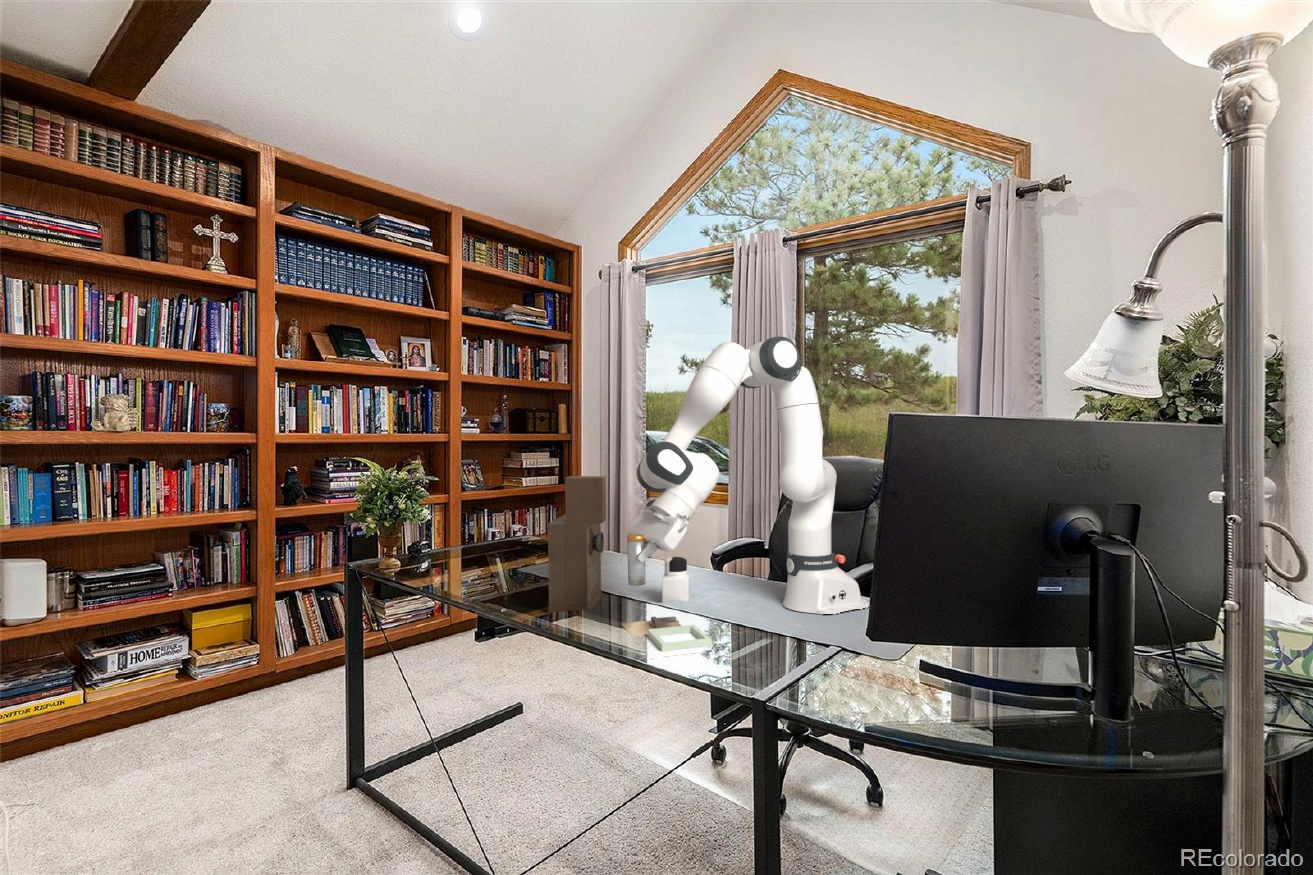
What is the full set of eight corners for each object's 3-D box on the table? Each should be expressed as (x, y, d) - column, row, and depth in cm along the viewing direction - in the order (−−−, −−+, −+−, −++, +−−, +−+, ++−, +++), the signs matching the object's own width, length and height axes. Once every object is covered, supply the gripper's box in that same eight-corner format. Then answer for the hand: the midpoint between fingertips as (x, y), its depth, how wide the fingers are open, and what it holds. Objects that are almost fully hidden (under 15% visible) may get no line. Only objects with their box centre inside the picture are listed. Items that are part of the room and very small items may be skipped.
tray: (694, 636, 150) (694, 624, 150) (711, 651, 140) (711, 639, 140) (647, 641, 147) (647, 629, 147) (662, 657, 136) (662, 644, 136)
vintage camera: (603, 614, 168) (601, 477, 168) (548, 613, 170) (546, 478, 169) (615, 596, 187) (613, 472, 187) (566, 595, 189) (564, 473, 188)
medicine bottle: (689, 598, 184) (689, 555, 183) (688, 605, 177) (688, 560, 176) (664, 598, 184) (663, 555, 184) (662, 605, 177) (661, 560, 177)
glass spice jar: (643, 581, 154) (642, 533, 154) (647, 584, 150) (646, 535, 150) (626, 582, 153) (625, 534, 153) (630, 586, 149) (629, 536, 149)
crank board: (673, 623, 160) (673, 611, 160) (686, 635, 151) (686, 622, 151) (621, 628, 157) (620, 615, 156) (631, 641, 147) (631, 627, 147)
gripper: (701, 526, 147) (663, 574, 143) (661, 517, 166) (626, 560, 162) (683, 507, 145) (643, 556, 141) (644, 500, 164) (608, 543, 160)
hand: (634, 558), depth 152 cm, fingers closed on glass spice jar, 4 cm apart
